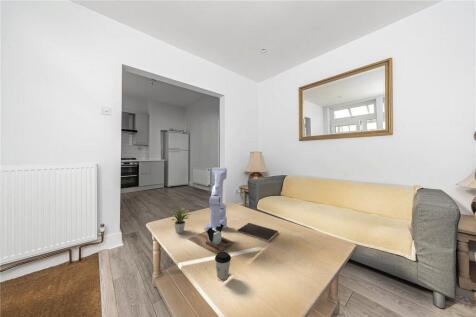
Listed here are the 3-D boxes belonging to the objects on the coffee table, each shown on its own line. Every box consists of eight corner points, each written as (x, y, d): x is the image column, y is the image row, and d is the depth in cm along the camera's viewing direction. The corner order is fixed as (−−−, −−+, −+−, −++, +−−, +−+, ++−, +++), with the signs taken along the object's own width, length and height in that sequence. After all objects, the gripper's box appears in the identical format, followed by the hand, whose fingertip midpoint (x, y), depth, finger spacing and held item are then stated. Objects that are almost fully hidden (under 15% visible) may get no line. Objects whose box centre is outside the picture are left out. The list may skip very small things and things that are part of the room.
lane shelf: (207, 231, 116) (207, 228, 116) (235, 244, 100) (235, 240, 100) (187, 240, 103) (187, 236, 103) (216, 256, 88) (216, 251, 88)
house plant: (174, 239, 104) (175, 213, 104) (163, 233, 113) (163, 208, 112) (193, 231, 116) (194, 207, 115) (181, 226, 124) (182, 204, 124)
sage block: (214, 239, 104) (214, 228, 104) (221, 242, 100) (221, 230, 100) (207, 242, 100) (207, 231, 100) (215, 245, 96) (215, 233, 96)
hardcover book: (268, 243, 103) (268, 239, 103) (237, 233, 116) (237, 229, 116) (277, 233, 117) (277, 230, 117) (249, 225, 130) (249, 222, 130)
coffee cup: (230, 272, 76) (231, 250, 76) (230, 283, 69) (231, 259, 69) (215, 272, 76) (215, 250, 76) (213, 283, 69) (214, 259, 69)
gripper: (210, 221, 92) (210, 246, 92) (228, 214, 103) (227, 236, 103) (202, 218, 96) (201, 241, 96) (219, 211, 107) (219, 232, 108)
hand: (214, 238), depth 100 cm, fingers closed on sage block, 5 cm apart
